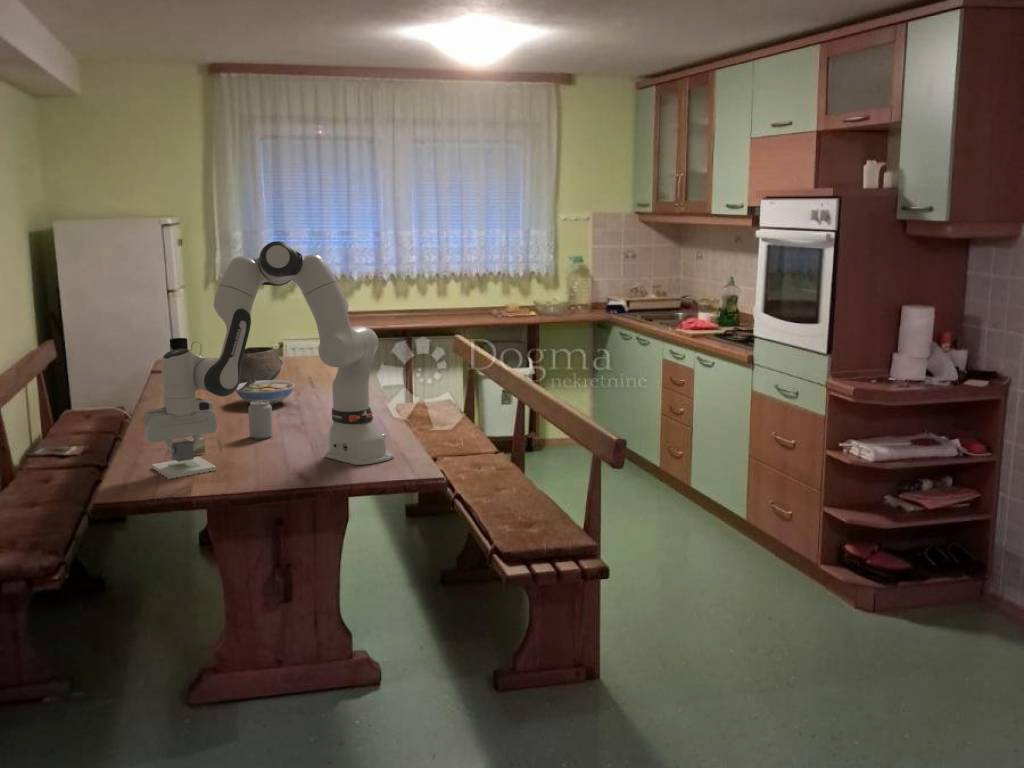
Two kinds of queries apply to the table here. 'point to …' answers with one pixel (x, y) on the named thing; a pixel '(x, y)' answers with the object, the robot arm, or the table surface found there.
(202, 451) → the birch block
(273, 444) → the table surface
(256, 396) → the ramen bowl
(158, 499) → the table surface
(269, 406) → the can
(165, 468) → the build board
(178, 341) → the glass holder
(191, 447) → the grey block
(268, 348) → the clay pot
